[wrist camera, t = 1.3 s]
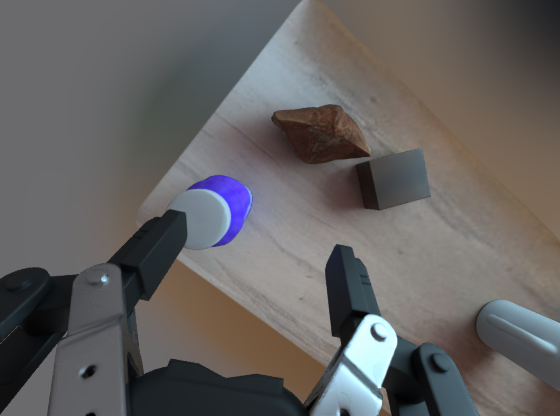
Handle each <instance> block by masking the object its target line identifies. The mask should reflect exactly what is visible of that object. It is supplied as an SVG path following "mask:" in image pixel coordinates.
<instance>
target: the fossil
mask: <svg viewBox="0 0 560 416" xmlns="http://www.w3.org/2000/svg"><path fill="white" fill-rule="evenodd" d="M271 120H272V122H273V123H274V124H275V125H276V126H278V127H280V130H281V132H282V133H283V135H284V136H285V138H286V139H287V141H288V143H289V144H290V145H291V147H292V149H293V150H294V152H295V153H296V155H297V157H298V158H299V159H301V160H302V161H303V162H304V163H307V164H318V163H326V162H329V161H332V160H337V159H350V158H361V157H370V156H372V151H371V149H370V147H369V145H368V144H367V142H366V140H365V138H364V136H363V134H362V132H361V130H360V128H359V127H358V125H357V123H356V122H355V121H354V120H353V119H352V118H351V117H350V116H349V115H348V114H347V113H345V112H344V110H343V108H342V107H341V106H338V105H333V104H329V105H324V106H321V107H318V108H316V107H311V108H302V109H295V110H279V111H276V112H274V115H273V116H272V117H271Z"/></svg>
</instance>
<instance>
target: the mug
mask: <svg viewBox="0 0 560 416" xmlns="http://www.w3.org/2000/svg"><path fill="white" fill-rule="evenodd" d="M476 330H477V334H478V336H479V338H480V339H481V340H482V342H484V343H485V344H486V345H487V346H489V347H490V348H492V349H494V350H495V351H497V352H498V353H500V354H502V355H503V356H505V357H506V358H508V359H510V360H511V361H513V362H514V363H516V364H517V365H519V366H520V367H522V368H523V369H525V370H527V371H528V372H530V373H531V374H533V375H534V376H536V377H537V378H539V379H540V380H542V381H544V382H545V383H547V384H548V385H550V386H551V387H553V388H554V389H556V390H557V391H559V392H560V323H558V322H556V321H553V320H551V319H548V318H546V317H544V316H541V315H539V314H537V313H534V312H532V311H529V310H527V309H525V308H523V307H520V306H518V305H516V304H514V303H511V302H508V301H505V300H496V301H492V302H490V303H488V304H487V305H486V306H485V307H484V308H483V309H482V310H481V311H480V313H479V315H478V318H477V321H476Z"/></svg>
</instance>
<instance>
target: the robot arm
mask: <svg viewBox="0 0 560 416" xmlns="http://www.w3.org/2000/svg"><path fill="white" fill-rule="evenodd" d="M187 236H188V232H187V218H186V213H185V212H182V211H178V210H173V209H169V210H167V211H166V212H165V213H164V215H163V216H162V217H154V218H153V219H151V220H149V221H147V222H146V223H145V224H144V225H143V226H142V227H141V228H140V229H139V231H137V232H136V233H135V234H134V235H133V237H131V238H130V239H129V240H128V241H127V242H126V243H125V244H124V245H123V246H122V247H121V248H120V249H119V250H118V251H117V252H116V253H115V254H114V255H113V256H112V257H111V259H110V260H109V261H108V262H107V263H103V264H98V265H95V266H92V267H90V268H88V269H86V270H84V271H83V272H81V273H80V274H77V275H64V276H52V277H51V276H50V275H49V273H48V272H47V271H46V270H45V269H42V268H38V267H37V268H35V267H33V268H25V269H21V270H18V271H15V272H12V273H10V274H8V275H6V276H4V277H3V278H1V279H0V343H1V342H2V341H3V340H4V339H5V338H6V337H7V336H8V335H9V334H10V333H11V332H12V331H13V330H14V329H15V328H16V327H17V326H18V327H17V328H16V329H15V330H14V331H13V332H12V333H11V334H10V335H9V336H8V337H7V338H6V339H5V340H4V341H3V342H2V343H1V344H0V414H1V413H2V412H3V410H4V409H5V408H6V407H7V405H8V404H9V403H10V402H11V400H12V399H13V398H14V396H15V395H16V394H17V393H18V392H19V390H20V389H21V388H22V387H23V385H24V384H25V383H26V382H27V380H28V379H29V378H30V377H31V375H32V374H33V373H34V372H35V370H36V369H37V368H38V367H39V365H40V364H41V363H42V362H43V360H44V359H45V358H46V357H47V355H48V354H49V353H50V352H51V351H52V349H53V348H54V347H55V346H56V344H57V343H58V345H57V349H56V356H55V363H54V370H53V377H52V385H51V392H50V399H49V406H48V413H47V416H378V414H379V412H380V409H381V406H382V402H383V396H382V394H381V393H380V390H381V387H384V388H385V389H386V391H387V396H388V400H389V405H390V410H391V414H392V416H479V414H478V411H477V409H476V407H475V405H474V403H473V401H472V399H471V396H470V394H469V392H468V390H467V388H466V386H465V383H464V381H463V379H462V377H461V375H460V373H459V371H458V368H457V366H456V365H455V363H454V361H453V360H452V359H451V357H450V356H449V355H448V354H447V353H446V352H445V351H444V350H442V349H441V348H440V347H438V346H437V345H434V344H432V343H423V344H422V345H420V346H419V347H418V346H416V345H414V344H413V343H411V342H409V341H407V340H405V339H403V338H401V337H399V336H398V335H396V334H395V331H394V330H393V328H392V327H391V325H390V324H389V323H388V322H387V321H386V320H385V319H383V318H382V317H381V314H380V311H379V308H378V305H377V302H376V298H375V295H374V292H373V289H372V286H371V282H370V279H369V278H368V277H369V276H368V273H367V270H366V267H365V266H364V264H363V263H362V261H361V260H360V259H358V258H355V257H354V253H353V249H352V248H351V247H349V246H344V245H339V244H336V246H335V247H334V249H333V251H332V253H331V255H330V257H329V259H328V261H327V264H326V268H325V277H326V286H327V295H328V304H329V313H330V322H331V331H332V336H333V337H339V338H340V340H341V346H340V347H339V348H338V350H337V352H336V353H335V355H334V357H333V358H332V360H331V362H330V363H329V365H328V367H327V368H326V370H325V372H324V373H323V375H322V376H321V378H320V380H319V381H318V383H317V384H316V386H315V387H314V389H313V390H312V392H311V393H310V394H309V396H308V398H307V399H306V401H305V402H304V404H302V403H301V401H300V400H299V399H298V398H297V397H296V396H295V395H294V394H293V393H292V392H290V391H289V390H288V389H286V388H285V387H283V380H284V379H283V378H277V377H272V376H266V375H261V374H251V375H244V376H238V377H231V378H225V377H222V376H221V375H219V374H217V373H215V372H213V371H211V370H210V369H208V368H206V367H204V366H202V365H200V364H198V363H193V362H187V361H181V360H176V359H170V361H169V364H168V366H167V367H162V368H159V369H155V370H153V371H150V372H148V373H145V374H144V371H143V364H142V359H141V355H140V350H139V343H138V334H137V324H136V315H135V308H134V307H135V305H136V304H137V302H138V301H139V299H141V300H146V301H149V300H150V298H151V296H152V295H153V293H154V292H155V290H156V289H157V287H158V286H159V284H160V283H161V281H162V279H163V278H164V276H165V275H166V273H167V272H168V270H169V268H170V267H171V265H172V264H173V262H174V260H175V259H176V258H177V256H178V254H179V253H180V251H181V250H182V248H183V247H184V245H185V243H186V240H187ZM67 331H68V333H67V336H66V337H64V338H62V337H63V336H64V334H65V333H66V332H67ZM61 338H62V339H61Z"/></svg>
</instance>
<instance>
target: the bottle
mask: <svg viewBox="0 0 560 416" xmlns="http://www.w3.org/2000/svg"><path fill="white" fill-rule="evenodd" d="M252 199H253V198H252V193H251V191H250V190H249V188H248V187H246V186H245V185H243V184H241V183H240V182H238V181H237V180H235V179H233V178H230V177H227V176H223V175H215V176H211V177H209V178H207V179H205V180H204V181H200V182H197V183H195V184H194V185H192V186H191V187H190V188H188V189H187V190H186V191H184V192H182V193H180V194H179V195H177V196H176V197H175V198H174V199H173V200H172V201H171V202H170V204H169V205H168V207H167V210H169V209H173V210H178V211H182V212H185V213H186V218H187V232H188V236H187V240H186V243H185V245H184V247H185V248H188V249H192V250H202V249H206V248H209V247H216V246H221V245H225V244H227V243H229V242H230V241H232V240H233V239H234V238H235V236H236V235H237V234H238V232H239V231H240V230H241V228H242V225H243V223H244V221H245V219H246V218H247V216H248V214H249V211H250V209H251V206H252ZM167 210H166V211H167Z"/></svg>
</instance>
